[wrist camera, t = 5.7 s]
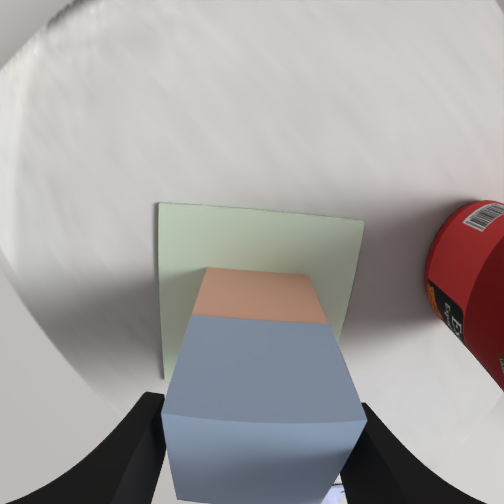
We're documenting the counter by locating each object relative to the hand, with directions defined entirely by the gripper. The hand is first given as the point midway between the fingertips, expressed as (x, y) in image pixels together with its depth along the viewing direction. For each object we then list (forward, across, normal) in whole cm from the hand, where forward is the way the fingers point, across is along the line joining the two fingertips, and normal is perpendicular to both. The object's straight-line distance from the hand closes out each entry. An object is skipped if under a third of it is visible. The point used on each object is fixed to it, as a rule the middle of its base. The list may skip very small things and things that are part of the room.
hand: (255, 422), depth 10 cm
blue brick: (+3, 0, 0) cm, 3 cm away
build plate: (+8, 0, 0) cm, 8 cm away
